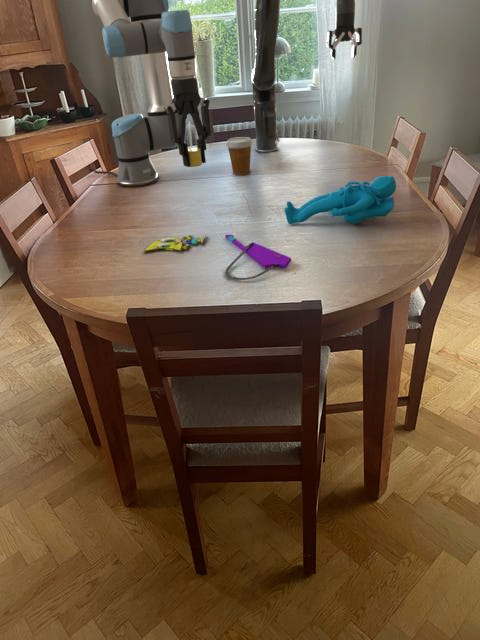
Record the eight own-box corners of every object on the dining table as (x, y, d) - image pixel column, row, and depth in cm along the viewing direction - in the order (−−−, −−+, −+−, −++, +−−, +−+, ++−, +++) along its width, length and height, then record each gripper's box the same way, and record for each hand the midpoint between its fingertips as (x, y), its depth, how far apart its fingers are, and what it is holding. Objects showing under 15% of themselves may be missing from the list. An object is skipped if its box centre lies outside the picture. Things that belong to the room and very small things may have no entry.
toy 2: (287, 190, 142) (392, 164, 132) (296, 223, 147) (398, 200, 137) (279, 211, 128) (396, 183, 118) (290, 247, 133) (402, 223, 123)
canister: (185, 163, 145) (183, 148, 143) (200, 161, 146) (199, 146, 144) (187, 167, 141) (185, 152, 139) (203, 165, 142) (201, 150, 140)
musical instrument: (267, 291, 107) (306, 245, 119) (265, 283, 105) (305, 238, 118) (184, 277, 119) (226, 237, 132) (181, 270, 118) (225, 230, 130)
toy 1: (199, 248, 125) (143, 249, 127) (199, 251, 125) (144, 252, 127) (206, 233, 133) (154, 234, 135) (206, 236, 133) (154, 237, 136)
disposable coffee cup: (225, 175, 181) (222, 142, 175) (234, 168, 188) (232, 136, 182) (248, 176, 178) (246, 143, 171) (257, 169, 185) (255, 136, 178)
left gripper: (160, 82, 124) (174, 173, 137) (218, 73, 132) (226, 159, 145) (148, 81, 130) (162, 168, 142) (204, 72, 137) (213, 155, 150)
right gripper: (331, 13, 186) (330, 60, 195) (366, 10, 188) (363, 57, 196) (324, 13, 192) (324, 59, 201) (358, 10, 194) (356, 56, 203)
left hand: (194, 163), depth 143 cm, fingers closed on canister, 5 cm apart
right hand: (343, 58), depth 199 cm, fingers open, 8 cm apart
